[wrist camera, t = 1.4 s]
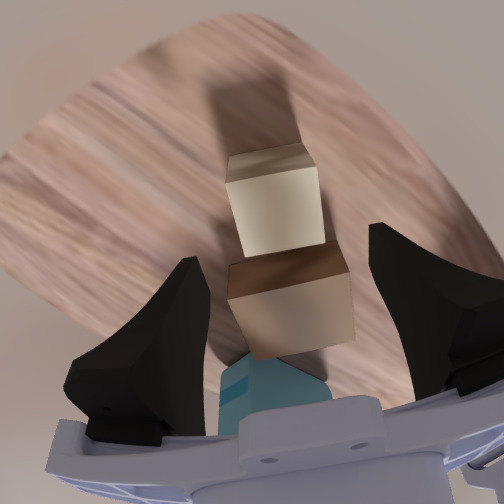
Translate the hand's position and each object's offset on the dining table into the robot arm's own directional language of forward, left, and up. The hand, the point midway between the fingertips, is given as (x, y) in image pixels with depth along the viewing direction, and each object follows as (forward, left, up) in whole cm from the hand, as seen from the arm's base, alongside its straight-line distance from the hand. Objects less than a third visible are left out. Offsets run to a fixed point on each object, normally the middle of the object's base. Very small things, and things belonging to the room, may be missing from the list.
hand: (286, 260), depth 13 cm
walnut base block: (0, +9, -9) cm, 13 cm away
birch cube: (0, 0, -8) cm, 8 cm away
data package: (+3, +21, -9) cm, 23 cm away
